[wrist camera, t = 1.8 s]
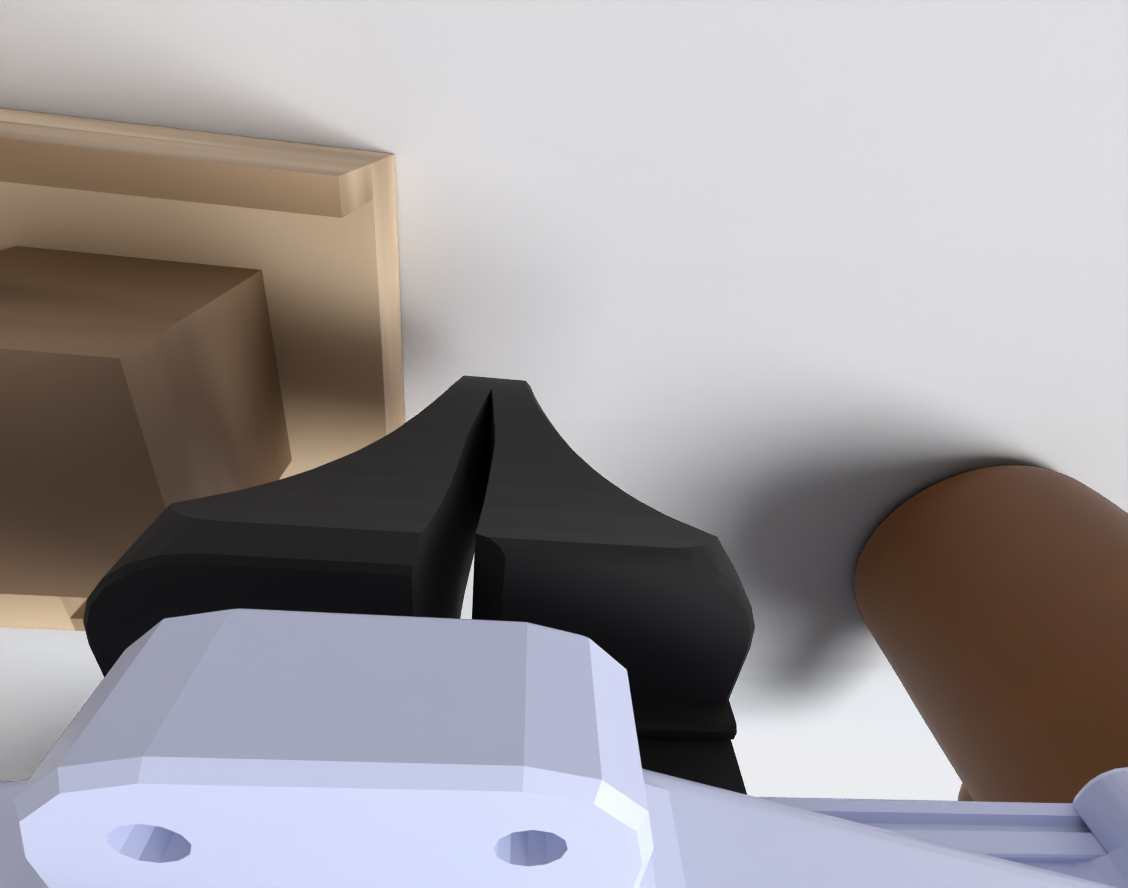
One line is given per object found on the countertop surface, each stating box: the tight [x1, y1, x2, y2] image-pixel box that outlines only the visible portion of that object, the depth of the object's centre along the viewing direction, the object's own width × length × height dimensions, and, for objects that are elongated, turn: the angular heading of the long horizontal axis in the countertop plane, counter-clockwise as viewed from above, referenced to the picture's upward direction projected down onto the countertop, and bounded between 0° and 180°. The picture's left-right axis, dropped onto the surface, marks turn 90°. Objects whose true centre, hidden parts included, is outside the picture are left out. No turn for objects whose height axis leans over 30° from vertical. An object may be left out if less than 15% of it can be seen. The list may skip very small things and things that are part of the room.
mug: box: [854, 465, 1128, 804], centre depth 16 cm, size 12×8×9 cm, turn 179°
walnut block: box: [0, 246, 292, 598], centre depth 10 cm, size 4×4×4 cm
